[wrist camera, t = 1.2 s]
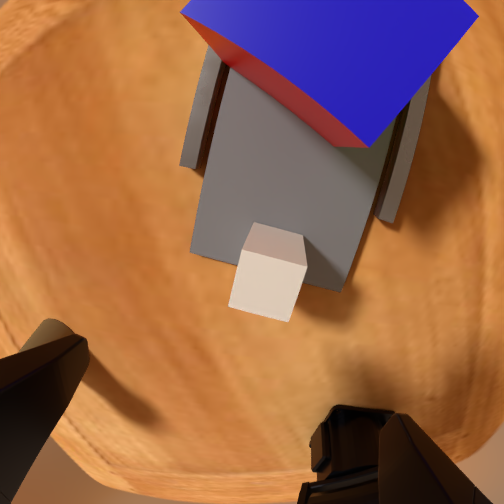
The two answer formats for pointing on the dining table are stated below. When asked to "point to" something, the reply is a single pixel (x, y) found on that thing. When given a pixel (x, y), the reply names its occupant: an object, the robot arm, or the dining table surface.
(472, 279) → the dining table surface
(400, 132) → the lane rails
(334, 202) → the grey panel with knob
